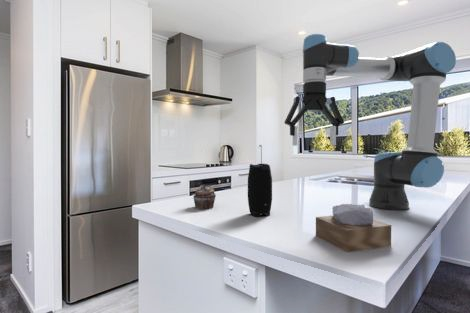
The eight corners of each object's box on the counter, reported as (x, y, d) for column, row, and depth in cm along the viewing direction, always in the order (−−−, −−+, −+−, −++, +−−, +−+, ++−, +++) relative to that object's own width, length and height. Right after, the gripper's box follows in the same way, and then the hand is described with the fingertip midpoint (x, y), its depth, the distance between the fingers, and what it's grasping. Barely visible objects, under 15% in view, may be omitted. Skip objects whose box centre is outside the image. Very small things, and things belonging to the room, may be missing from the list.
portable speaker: (273, 217, 108) (273, 164, 107) (248, 217, 108) (248, 165, 107) (270, 211, 117) (270, 163, 116) (247, 211, 117) (247, 163, 116)
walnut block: (354, 232, 91) (354, 213, 91) (391, 247, 77) (391, 225, 77) (315, 236, 87) (315, 217, 86) (347, 253, 73) (347, 230, 73)
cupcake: (196, 204, 131) (196, 182, 131) (217, 205, 130) (217, 183, 129) (190, 209, 122) (190, 185, 121) (213, 210, 120) (212, 186, 120)
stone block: (339, 231, 78) (377, 224, 76) (335, 213, 78) (373, 206, 77) (330, 221, 90) (364, 215, 88) (327, 205, 90) (360, 199, 88)
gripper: (281, 79, 93) (281, 145, 94) (355, 81, 96) (354, 145, 97) (275, 84, 101) (275, 145, 101) (343, 85, 104) (343, 145, 105)
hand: (314, 145), depth 99 cm, fingers open, 13 cm apart
